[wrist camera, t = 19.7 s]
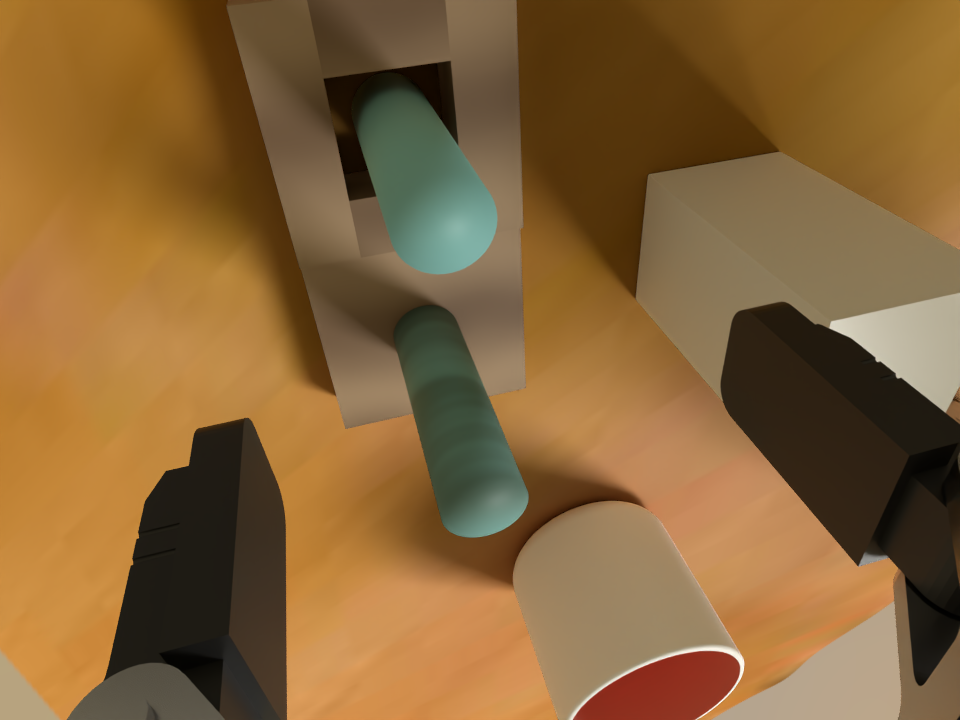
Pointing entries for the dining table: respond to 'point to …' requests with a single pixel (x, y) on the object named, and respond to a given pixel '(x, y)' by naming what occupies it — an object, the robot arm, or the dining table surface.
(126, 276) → the dining table surface
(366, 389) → the board
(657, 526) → the cup
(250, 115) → the dining table surface
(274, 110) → the board
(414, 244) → the pin
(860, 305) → the block
